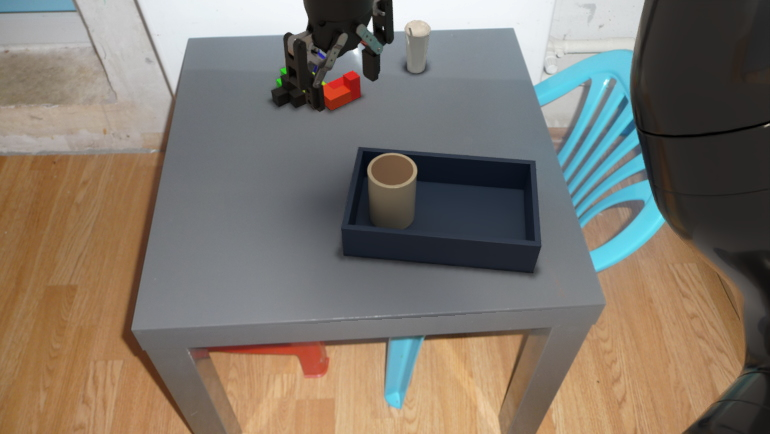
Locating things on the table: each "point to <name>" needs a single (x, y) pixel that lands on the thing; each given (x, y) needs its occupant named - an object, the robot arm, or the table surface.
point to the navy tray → (453, 213)
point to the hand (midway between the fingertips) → (344, 92)
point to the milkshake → (416, 45)
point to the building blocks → (334, 91)
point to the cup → (392, 190)
